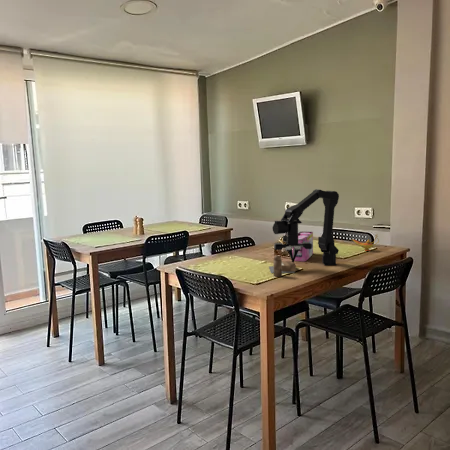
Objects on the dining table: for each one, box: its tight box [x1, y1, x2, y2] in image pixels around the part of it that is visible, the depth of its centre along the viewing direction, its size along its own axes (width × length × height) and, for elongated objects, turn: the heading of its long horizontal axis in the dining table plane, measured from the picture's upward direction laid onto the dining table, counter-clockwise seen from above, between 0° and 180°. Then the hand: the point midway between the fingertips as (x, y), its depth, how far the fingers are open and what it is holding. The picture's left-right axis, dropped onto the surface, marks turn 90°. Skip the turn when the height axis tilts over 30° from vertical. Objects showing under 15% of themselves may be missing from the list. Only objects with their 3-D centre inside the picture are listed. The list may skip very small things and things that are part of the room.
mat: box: [268, 265, 296, 274], centre depth 234 cm, size 12×14×1 cm
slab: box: [282, 260, 297, 272], centre depth 234 cm, size 3×10×7 cm
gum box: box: [291, 231, 314, 262], centre depth 262 cm, size 24×8×14 cm, turn 159°
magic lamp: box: [350, 234, 380, 251], centre depth 275 cm, size 7×18×11 cm, turn 52°
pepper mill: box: [273, 255, 283, 278], centre depth 222 cm, size 4×4×10 cm
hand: (292, 262), depth 234 cm, fingers closed
